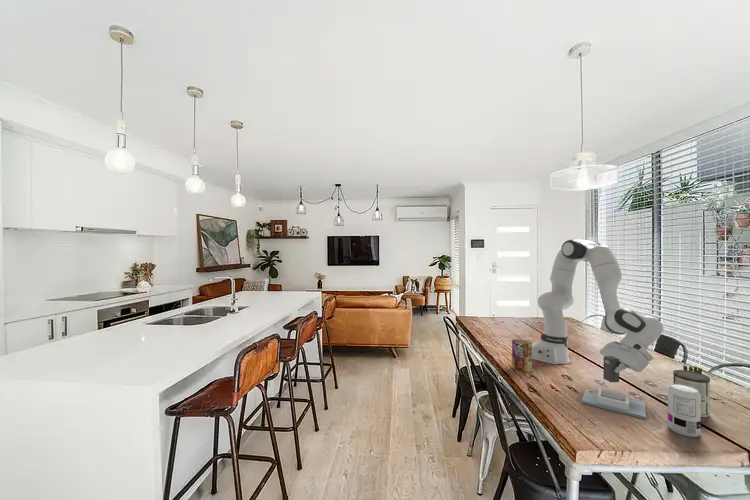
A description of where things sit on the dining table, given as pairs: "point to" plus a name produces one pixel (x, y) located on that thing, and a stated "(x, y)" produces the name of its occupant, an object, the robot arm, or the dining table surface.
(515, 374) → the dining table surface
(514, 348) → the candy box
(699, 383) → the coffee can
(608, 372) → the plug
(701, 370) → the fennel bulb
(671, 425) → the supplement can
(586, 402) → the socket base
